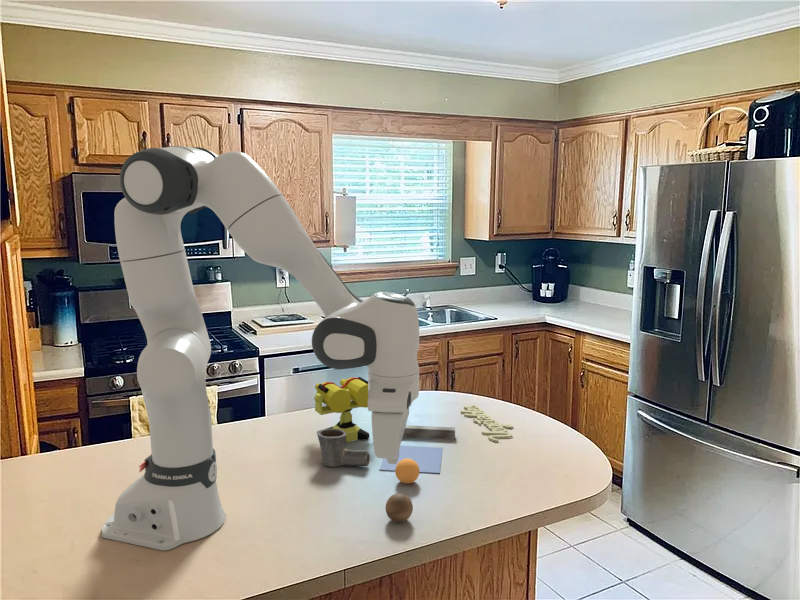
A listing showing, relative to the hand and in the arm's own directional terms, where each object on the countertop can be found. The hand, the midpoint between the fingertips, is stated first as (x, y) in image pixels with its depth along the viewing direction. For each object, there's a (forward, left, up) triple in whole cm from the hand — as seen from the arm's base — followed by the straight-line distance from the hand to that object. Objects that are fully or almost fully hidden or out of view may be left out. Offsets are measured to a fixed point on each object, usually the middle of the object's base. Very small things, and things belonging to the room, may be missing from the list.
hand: (393, 460), depth 108 cm
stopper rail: (0, +51, -17) cm, 54 cm away
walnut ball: (0, +9, -14) cm, 17 cm away
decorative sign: (+19, +63, -18) cm, 69 cm away
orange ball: (0, +25, -14) cm, 29 cm away
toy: (-20, +50, -17) cm, 57 cm away
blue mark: (0, +37, -17) cm, 41 cm away
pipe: (-16, +32, -17) cm, 40 cm away
